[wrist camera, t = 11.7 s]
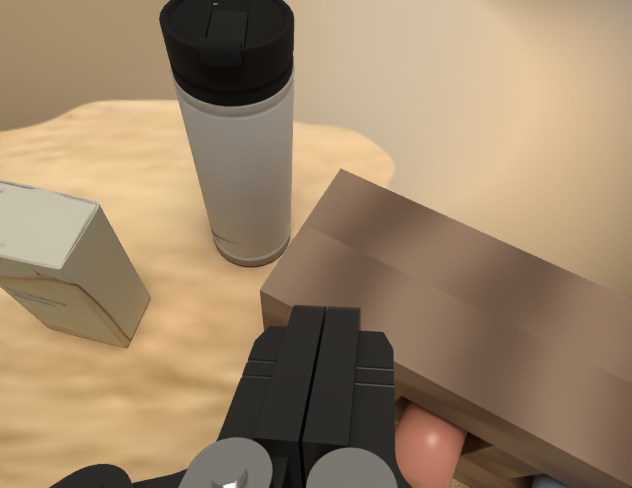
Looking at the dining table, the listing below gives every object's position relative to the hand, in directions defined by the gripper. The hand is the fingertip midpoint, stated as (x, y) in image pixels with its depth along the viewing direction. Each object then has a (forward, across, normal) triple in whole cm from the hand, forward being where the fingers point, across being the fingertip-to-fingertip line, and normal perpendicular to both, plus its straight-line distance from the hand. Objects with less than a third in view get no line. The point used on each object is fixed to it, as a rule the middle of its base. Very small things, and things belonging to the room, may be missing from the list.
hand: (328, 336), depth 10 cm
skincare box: (+17, +19, +13) cm, 28 cm away
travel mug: (+24, +9, +10) cm, 28 cm away
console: (+16, -4, +18) cm, 24 cm away
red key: (+9, -4, +14) cm, 17 cm away
